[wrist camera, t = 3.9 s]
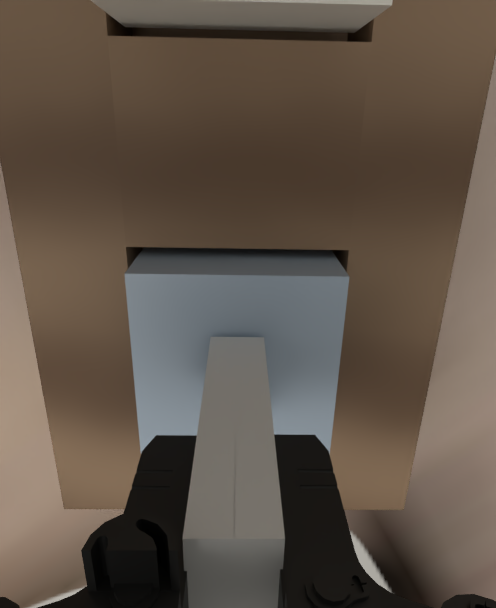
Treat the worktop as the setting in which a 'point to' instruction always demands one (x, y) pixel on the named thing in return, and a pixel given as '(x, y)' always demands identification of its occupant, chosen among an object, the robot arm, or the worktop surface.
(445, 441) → the worktop surface
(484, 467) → the worktop surface
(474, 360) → the worktop surface
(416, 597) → the worktop surface
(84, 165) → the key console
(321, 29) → the white key
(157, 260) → the blue key
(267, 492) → the robot arm
